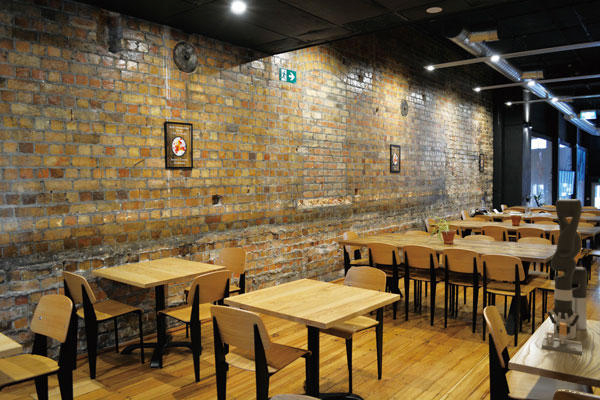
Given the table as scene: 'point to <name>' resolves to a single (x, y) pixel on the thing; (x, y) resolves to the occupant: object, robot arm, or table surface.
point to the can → (572, 328)
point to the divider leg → (563, 333)
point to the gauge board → (554, 344)
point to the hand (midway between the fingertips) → (563, 333)
